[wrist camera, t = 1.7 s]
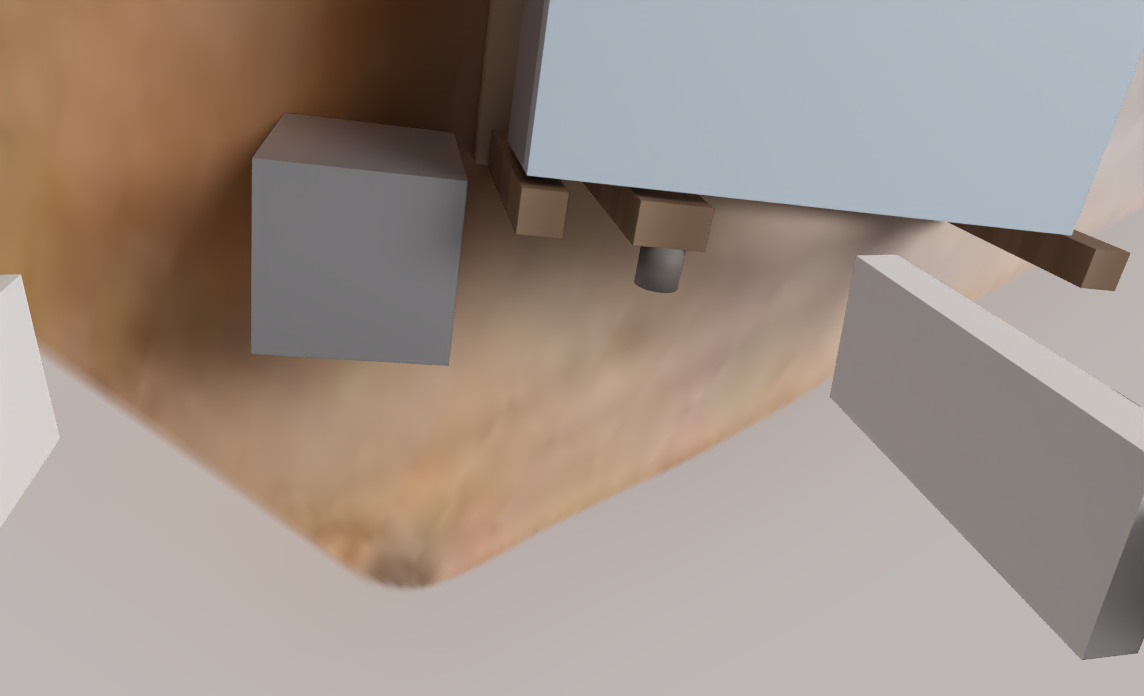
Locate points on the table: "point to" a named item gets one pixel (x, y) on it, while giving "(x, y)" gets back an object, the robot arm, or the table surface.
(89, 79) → the table surface
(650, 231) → the frame
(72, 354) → the table surface
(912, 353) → the robot arm
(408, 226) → the block
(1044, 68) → the trapdoor
